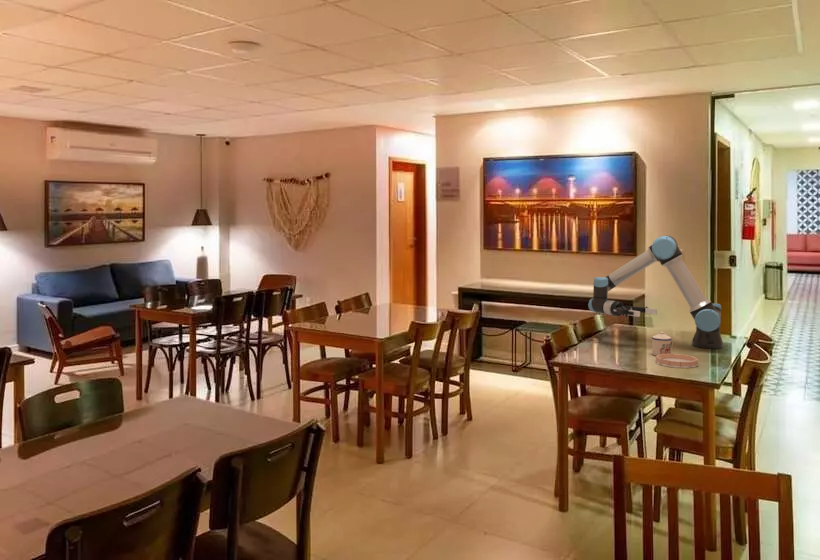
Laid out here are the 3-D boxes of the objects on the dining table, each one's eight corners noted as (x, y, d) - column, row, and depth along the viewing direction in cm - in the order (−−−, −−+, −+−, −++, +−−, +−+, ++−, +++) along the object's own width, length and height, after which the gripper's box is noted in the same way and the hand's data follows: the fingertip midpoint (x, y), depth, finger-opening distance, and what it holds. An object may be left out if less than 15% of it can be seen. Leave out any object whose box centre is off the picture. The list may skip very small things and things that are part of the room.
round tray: (671, 358, 326) (671, 352, 326) (705, 364, 311) (705, 359, 311) (648, 362, 316) (648, 356, 316) (682, 369, 301) (682, 363, 301)
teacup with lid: (661, 357, 327) (662, 334, 326) (647, 354, 335) (648, 331, 334) (679, 355, 332) (680, 332, 331) (664, 352, 340) (665, 329, 339)
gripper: (629, 313, 364) (663, 318, 347) (598, 316, 350) (631, 322, 333) (629, 299, 363) (663, 304, 346) (598, 302, 350) (632, 307, 332)
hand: (648, 313), depth 339 cm, fingers open, 13 cm apart
